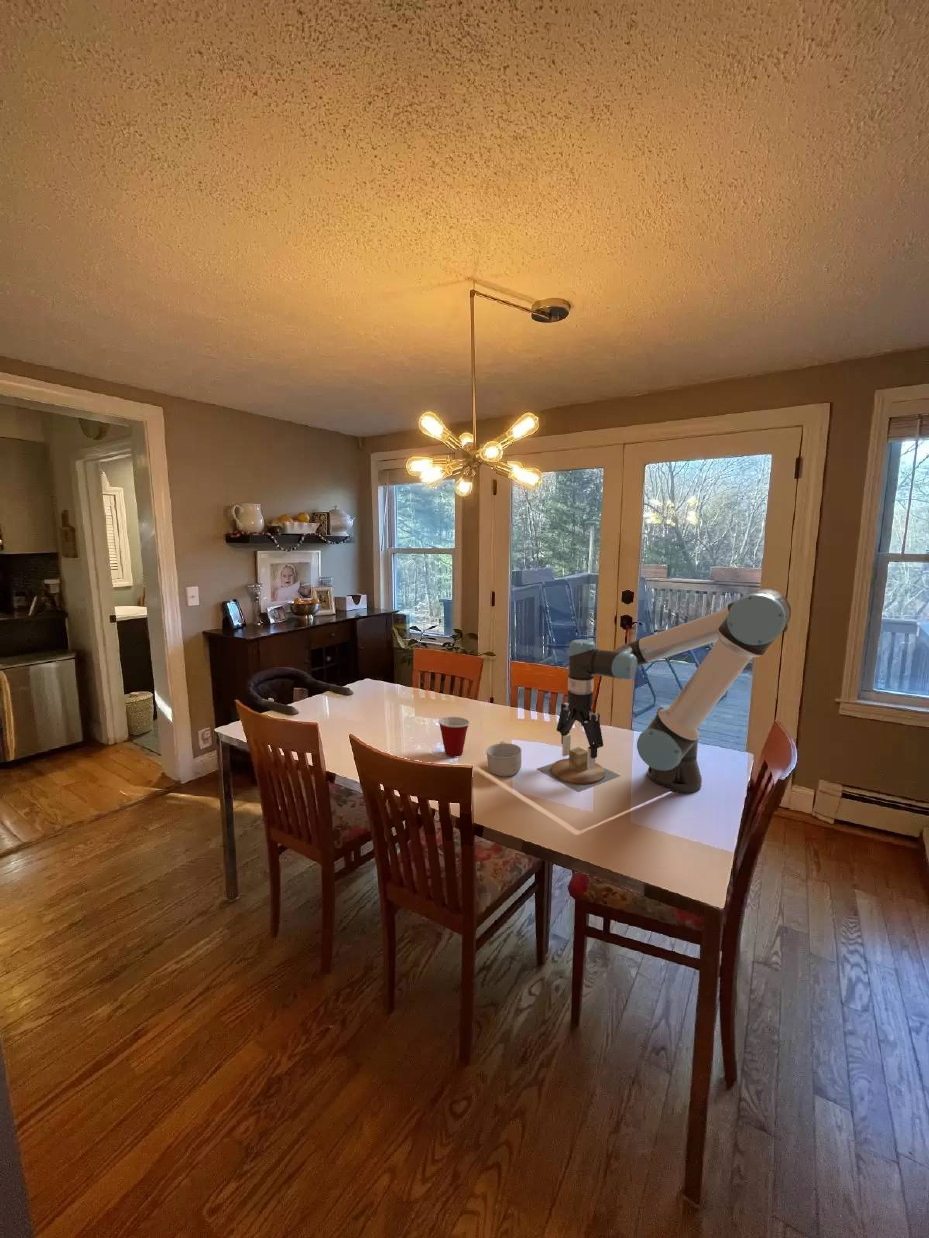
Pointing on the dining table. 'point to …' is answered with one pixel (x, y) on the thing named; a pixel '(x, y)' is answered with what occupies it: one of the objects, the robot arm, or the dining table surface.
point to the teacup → (504, 759)
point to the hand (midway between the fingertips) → (578, 760)
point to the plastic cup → (453, 734)
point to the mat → (578, 787)
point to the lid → (577, 769)
